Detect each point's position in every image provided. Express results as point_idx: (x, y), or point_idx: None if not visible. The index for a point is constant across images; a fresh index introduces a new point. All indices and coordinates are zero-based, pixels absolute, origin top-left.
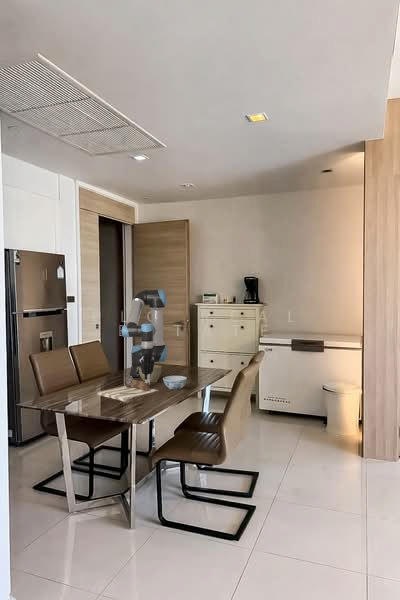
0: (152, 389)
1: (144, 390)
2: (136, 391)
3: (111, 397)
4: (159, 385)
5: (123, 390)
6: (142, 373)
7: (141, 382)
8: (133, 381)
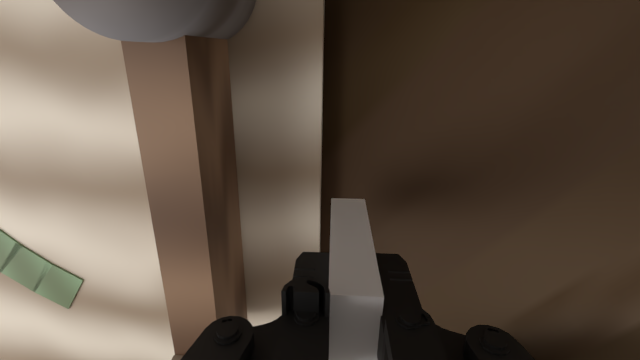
0: None
1: None
2: (120, 250)
3: None
4: (606, 158)
5: (20, 91)
6: (216, 328)
7: (169, 297)
8: (143, 115)
